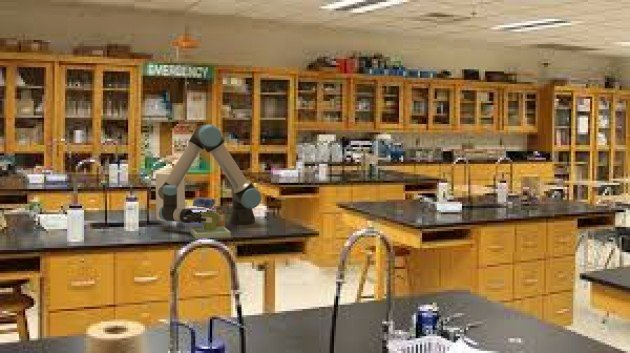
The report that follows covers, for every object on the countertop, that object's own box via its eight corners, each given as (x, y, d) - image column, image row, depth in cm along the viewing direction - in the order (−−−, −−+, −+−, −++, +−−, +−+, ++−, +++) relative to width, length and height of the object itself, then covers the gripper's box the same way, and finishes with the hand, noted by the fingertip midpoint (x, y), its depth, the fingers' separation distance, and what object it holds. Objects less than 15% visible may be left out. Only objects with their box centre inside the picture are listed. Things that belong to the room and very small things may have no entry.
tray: (223, 232, 375) (223, 226, 375) (230, 237, 358) (230, 232, 358) (190, 233, 369) (190, 228, 369) (196, 239, 352) (196, 233, 352)
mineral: (196, 214, 438) (196, 198, 437) (191, 212, 446) (191, 197, 445) (218, 213, 445) (217, 197, 444) (212, 211, 453) (212, 196, 452)
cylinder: (182, 221, 412) (181, 174, 410) (153, 220, 412) (152, 174, 410) (187, 216, 429) (187, 171, 427) (160, 216, 430) (159, 171, 427)
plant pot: (211, 227, 370) (211, 211, 369) (222, 230, 363) (222, 213, 363) (197, 229, 363) (197, 213, 363) (207, 231, 357) (207, 215, 356)
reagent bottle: (223, 229, 384) (223, 205, 383) (226, 230, 379) (225, 207, 377) (213, 229, 382) (212, 206, 381) (215, 231, 377) (215, 207, 375)
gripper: (196, 219, 381) (229, 223, 370) (170, 225, 363) (203, 229, 352) (196, 206, 381) (229, 209, 369) (170, 210, 363) (203, 214, 351)
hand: (216, 219), depth 360 cm, fingers closed on plant pot, 8 cm apart
